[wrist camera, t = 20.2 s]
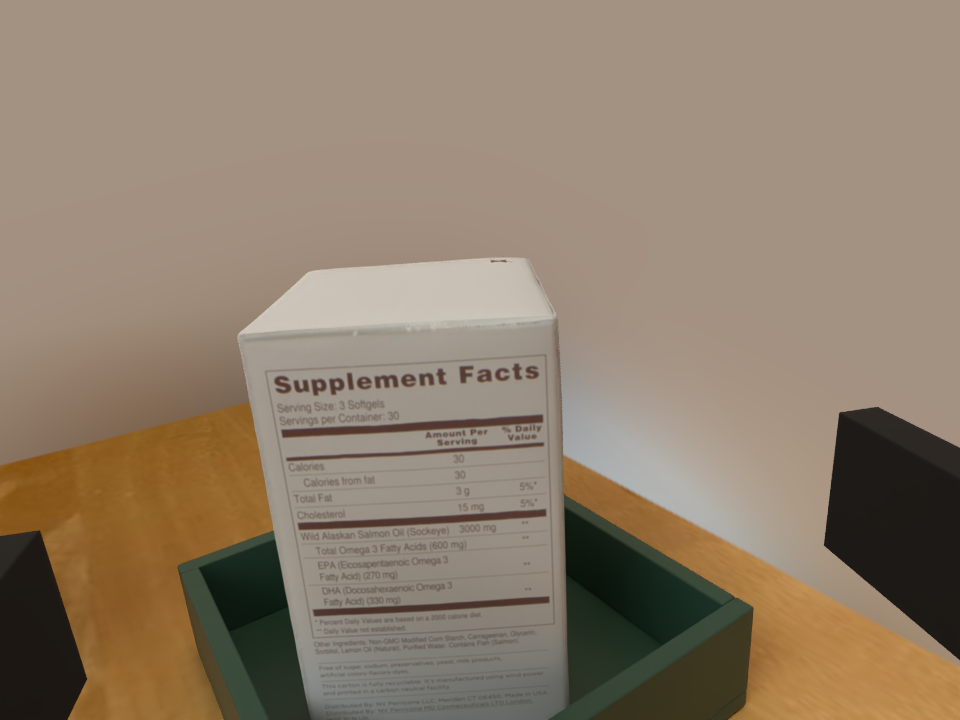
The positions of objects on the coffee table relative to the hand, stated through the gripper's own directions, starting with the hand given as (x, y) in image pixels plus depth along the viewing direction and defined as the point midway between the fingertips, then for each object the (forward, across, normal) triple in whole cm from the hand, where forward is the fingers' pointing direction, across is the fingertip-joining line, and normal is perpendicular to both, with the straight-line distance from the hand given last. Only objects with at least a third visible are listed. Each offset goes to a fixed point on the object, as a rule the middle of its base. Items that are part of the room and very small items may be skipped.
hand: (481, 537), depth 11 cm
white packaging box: (+8, 0, -10) cm, 13 cm away
